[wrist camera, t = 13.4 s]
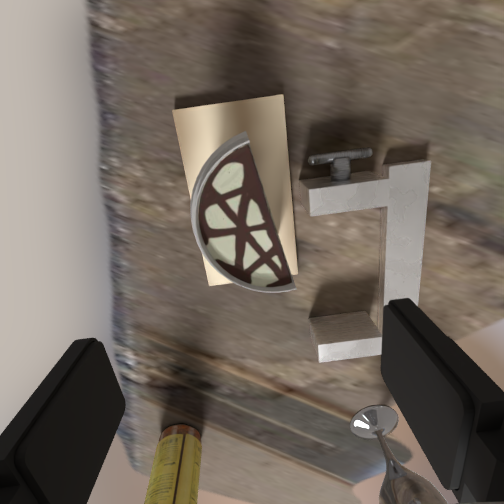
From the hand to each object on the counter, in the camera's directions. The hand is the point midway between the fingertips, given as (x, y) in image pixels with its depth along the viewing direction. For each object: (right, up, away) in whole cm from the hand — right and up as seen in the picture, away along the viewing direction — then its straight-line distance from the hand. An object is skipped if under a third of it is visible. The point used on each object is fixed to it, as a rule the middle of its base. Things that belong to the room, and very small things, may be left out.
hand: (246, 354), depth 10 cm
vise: (+12, +4, +24) cm, 27 cm away
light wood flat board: (-1, +9, +21) cm, 23 cm away
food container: (-1, +8, +21) cm, 22 cm away
